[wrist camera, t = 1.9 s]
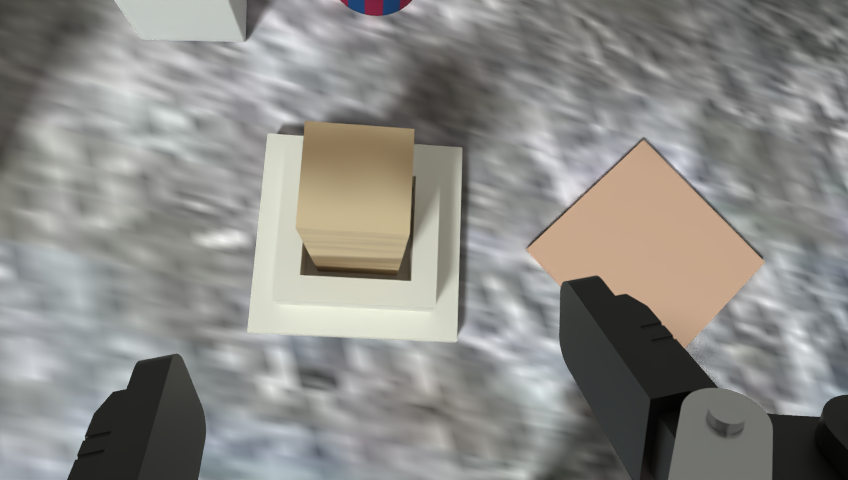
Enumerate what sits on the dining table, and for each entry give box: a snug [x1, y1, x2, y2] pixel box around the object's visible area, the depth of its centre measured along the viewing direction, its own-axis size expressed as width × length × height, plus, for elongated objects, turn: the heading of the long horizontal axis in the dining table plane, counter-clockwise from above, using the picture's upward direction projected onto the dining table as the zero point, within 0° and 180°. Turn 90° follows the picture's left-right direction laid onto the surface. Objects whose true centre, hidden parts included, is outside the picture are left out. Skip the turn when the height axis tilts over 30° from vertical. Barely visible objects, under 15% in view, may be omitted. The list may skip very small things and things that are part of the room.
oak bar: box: [295, 121, 415, 275], centre depth 32 cm, size 5×5×12 cm
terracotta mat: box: [526, 140, 765, 349], centre depth 41 cm, size 12×12×1 cm
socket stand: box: [247, 133, 462, 342], centre depth 37 cm, size 13×13×4 cm
